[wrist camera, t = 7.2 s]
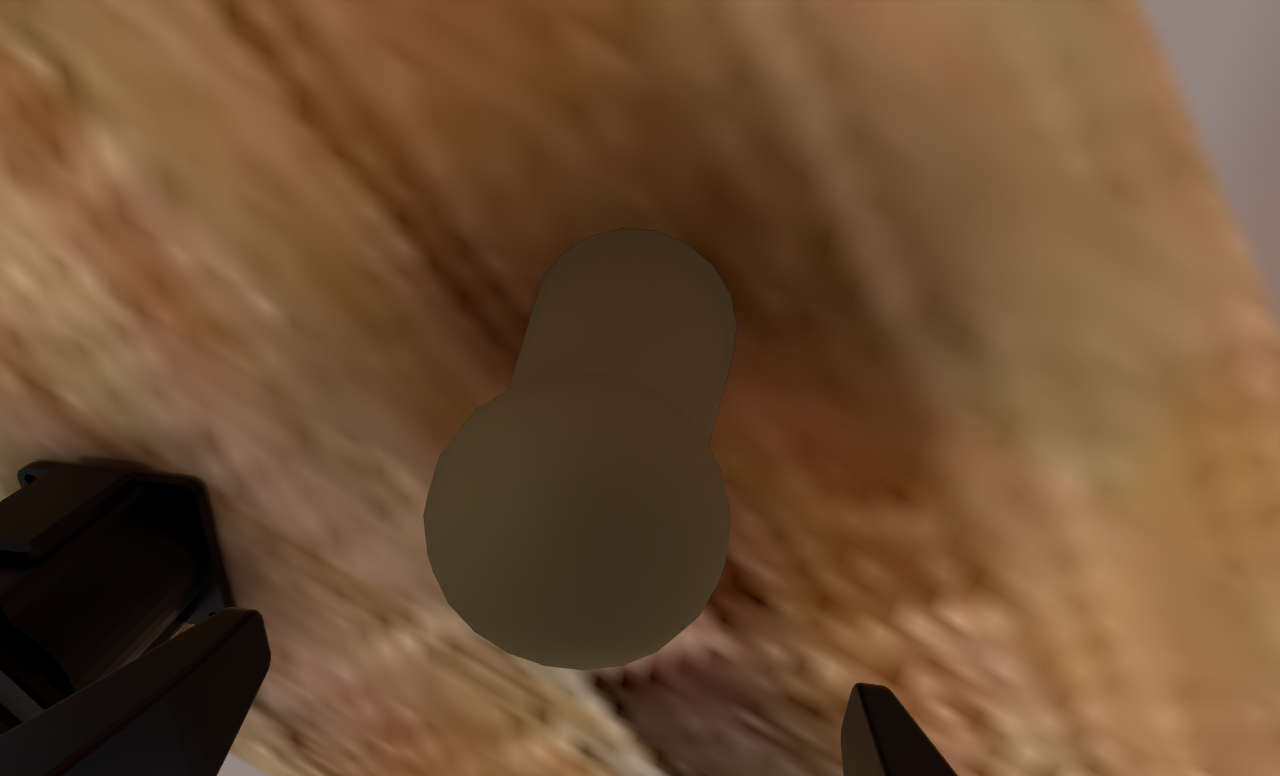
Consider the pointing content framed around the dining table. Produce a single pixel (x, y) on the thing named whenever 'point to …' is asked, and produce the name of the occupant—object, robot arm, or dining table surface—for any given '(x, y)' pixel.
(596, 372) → the olive brown bulbous cylinder
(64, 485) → the robot arm
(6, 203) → the dining table surface
